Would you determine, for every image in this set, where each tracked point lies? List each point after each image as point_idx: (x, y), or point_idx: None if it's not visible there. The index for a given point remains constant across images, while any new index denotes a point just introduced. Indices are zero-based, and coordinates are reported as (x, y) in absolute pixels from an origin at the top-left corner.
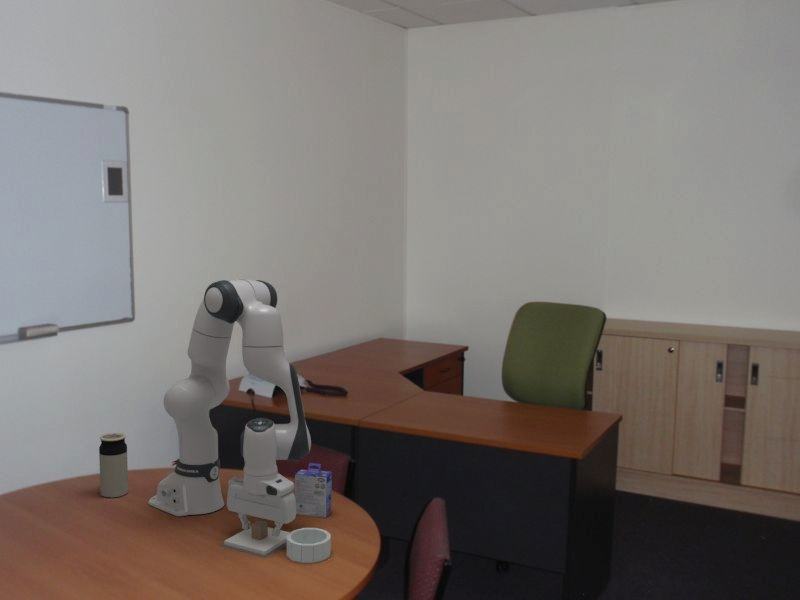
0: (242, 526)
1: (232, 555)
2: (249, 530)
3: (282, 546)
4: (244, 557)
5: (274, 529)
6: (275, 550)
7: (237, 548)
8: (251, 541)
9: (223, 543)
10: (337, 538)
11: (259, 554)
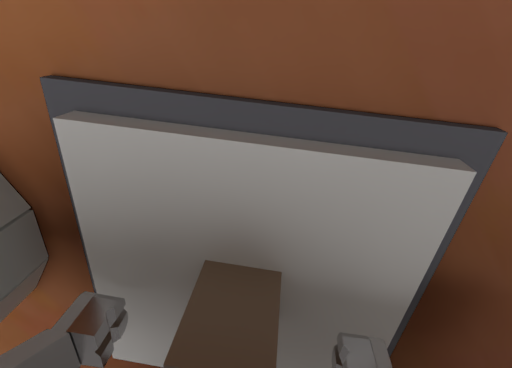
0: (387, 356)
1: (310, 29)
2: None
3: None
4: (199, 39)
5: (55, 340)
6: None
7: (319, 135)
8: (249, 228)
9: None
10: None
11: (112, 107)
